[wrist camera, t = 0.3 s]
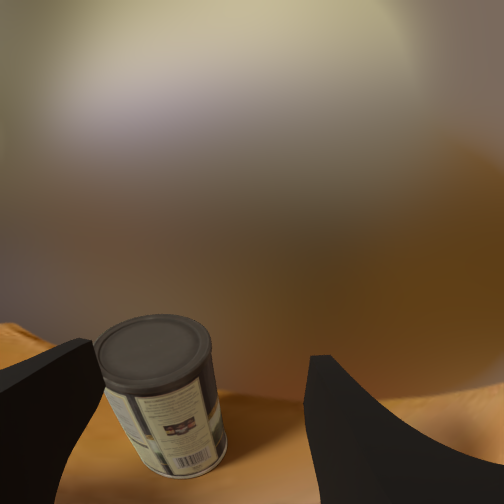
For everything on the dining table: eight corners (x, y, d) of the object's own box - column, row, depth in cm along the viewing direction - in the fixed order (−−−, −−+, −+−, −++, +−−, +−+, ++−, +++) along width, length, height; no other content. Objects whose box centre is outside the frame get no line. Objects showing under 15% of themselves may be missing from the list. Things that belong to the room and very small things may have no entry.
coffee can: (178, 399, 31) (154, 303, 27) (245, 434, 26) (237, 334, 22) (119, 443, 23) (69, 346, 19) (185, 496, 17) (138, 410, 13)
